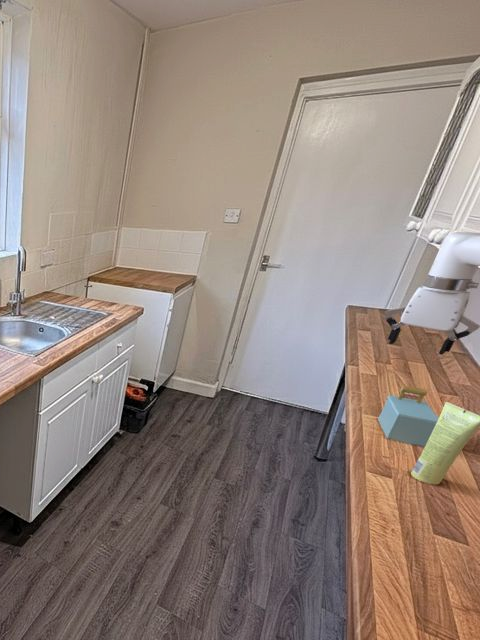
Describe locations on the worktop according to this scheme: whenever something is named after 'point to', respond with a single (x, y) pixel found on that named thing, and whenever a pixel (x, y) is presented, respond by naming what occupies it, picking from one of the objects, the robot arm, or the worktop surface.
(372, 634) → the worktop surface
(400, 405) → the chest lid
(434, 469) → the tube
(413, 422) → the chest
